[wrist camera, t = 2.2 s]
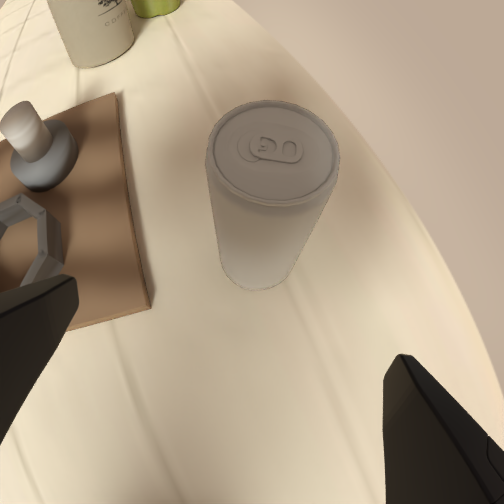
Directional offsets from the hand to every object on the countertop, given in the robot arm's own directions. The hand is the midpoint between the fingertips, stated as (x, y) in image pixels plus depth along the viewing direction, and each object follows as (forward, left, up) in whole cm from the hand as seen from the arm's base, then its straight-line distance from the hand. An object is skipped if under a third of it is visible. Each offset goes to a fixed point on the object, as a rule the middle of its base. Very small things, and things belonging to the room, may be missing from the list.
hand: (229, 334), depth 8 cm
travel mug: (+8, +35, -13) cm, 38 cm away
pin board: (-6, +18, -12) cm, 23 cm away
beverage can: (+5, +4, -13) cm, 14 cm away
